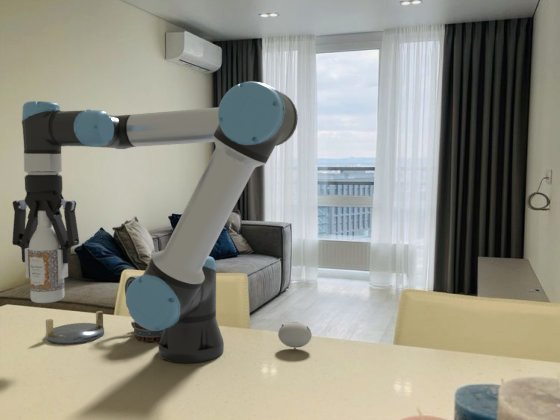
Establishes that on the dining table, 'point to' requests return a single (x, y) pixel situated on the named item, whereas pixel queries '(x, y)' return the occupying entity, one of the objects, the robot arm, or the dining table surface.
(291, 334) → the figurine
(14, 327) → the dining table surface
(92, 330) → the disc
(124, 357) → the dining table surface
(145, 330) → the mug
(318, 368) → the dining table surface
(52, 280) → the bath foam
